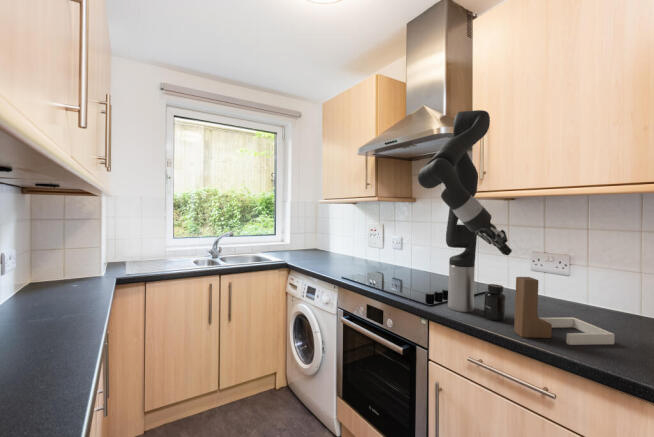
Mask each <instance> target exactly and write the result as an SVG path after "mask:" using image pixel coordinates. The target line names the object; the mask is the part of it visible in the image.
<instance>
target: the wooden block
mask: <svg viewBox="0 0 654 437" xmlns="http://www.w3.org/2000/svg"><path fill="white" fill-rule="evenodd" d="M514 301H515V303H514V328H513V330H514V333H515V334H517V335H518V336H520V337H521V338H528V339H529V338H534V339H536V338H537V339H551V338H552V324H551V323H549V322H547V321H545V320H543V319H539V318H540V317H539V312H538V306H539V305H538V304H539V303H538V302H539V279H536V278H534V277H530V276H516V277H515V299H514Z"/></svg>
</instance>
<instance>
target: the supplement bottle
mask: <svg viewBox="0 0 654 437" xmlns="http://www.w3.org/2000/svg"><path fill="white" fill-rule="evenodd" d="M483 298H484V301H483V303H484V304H483V317H484V318H485V319H486V320H489V321H493V322H503V321H505V320H506V307H507V305H506V304H507V296H506V294H505V293H504V286H503V285H501V284H495V283H489V284H488V285H487V291H486V292H485V293H484V297H483Z"/></svg>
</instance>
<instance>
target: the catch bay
mask: <svg viewBox="0 0 654 437" xmlns="http://www.w3.org/2000/svg"><path fill="white" fill-rule="evenodd" d="M539 319H543V320H545V321H547V322H549V323H551V324H552V328H574V329H576V330H578V331H580V332H572V333H571V332H567V333H566V339H565V340H566V342H565V343H566V344H567V345H571V346H573V345H574V346H575V345H578V346H579V345H584V346H585V345H615V333H613V332H610V331H607V330H605V329H603V328H601V327H599V326H595V325H594V324H591V323H588V322H586V321H583V320H581V319H579V318H576V317H570V316H569V317H568V316H567V317H539Z"/></svg>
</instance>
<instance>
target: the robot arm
mask: <svg viewBox="0 0 654 437" xmlns="http://www.w3.org/2000/svg"><path fill="white" fill-rule="evenodd" d="M490 118H491V117H490V113H489V112H488V111H487V110H483V109H481V110H480V109H477V110H463V111H462V110H461V111H458V112H457V113H456V114H455V116H454V119H453V125H452V128H453V129H452V138H450V139H449V140H447V141H445V142H444V143H443V145H442V146H441V147H440V148H439V149H438V151H437V152H436V154H434V155H433V156H432V158H431V159H429V160H428V162H426V163H425V164H424V165H423V166H422V167H421V168H420V169H419V171H418V174H417V181H418V183H419V185H420V186H421V187H423V188H425V189H434V188H436V187H438V186H439V185H441V184H443V185H444V187H445V188H444V190H442V192H441V195H440V197H441V200H442V201H443V203H445V204H446V205H447V206H448V208H449V210H448V216H447V217H448V219H447V224H446V232H445V242H446V246H448V248H453V249H465V250H463V252H461V253H458V254H456V255H453V256H450V257H449V259H448V260H449V261H448V262H449V263H448V264H449V265H448V288H447V290H448V291H447V292H448V293H447V294H448V295H447V307H448V308H449V309H450V310H452V311H454V312H455V311H456V312H461V313H471V312H473V311H474V307H475V306H474V299H475V273H476V272H475V267H476V264H475V263H476V249H477V239H478V237H480V238H481V239H482V240H483V241H485V242H486V243H487V244H489V245H492V246H493V247H494V248H495V247H496V248H497V249H498V250H499V252H500V253H501V254H503V255H504V256H509V255H510V254H511V253H512V252H513V249H512V248H510V246H509V245H508V244H507V242H508V241H509V240H508V237H507V233H506V231H505V230H504V229H501V230H498V229H497V226H496V225H494V224H493V223H491V221H492V215H491V213H490V212H489V211H488V210H487V209H486V208H485V207H484V205H483V204H481V202H480V201H478V200H477V198H476V197H475V196H476V194H477V191H478V183H479V174H478V173H479V172H478V170H477V167H476V166H475V164H474V162H473V161H472V159H471V157H470V155H469V153H468V150H470V149H471V148H472V147H473V146H475V145H476V144H477V143H478V142H479V141H480V140H481V139H483V137H485V136H486V134H488V131H489V130H490V123H491V119H490ZM458 221H460V222H461V223H462V224H459V223H458Z"/></svg>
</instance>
